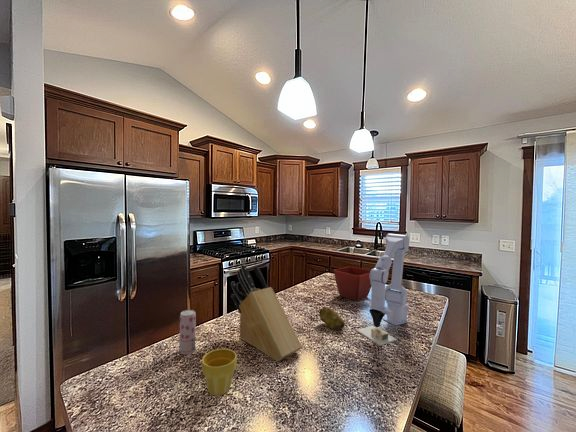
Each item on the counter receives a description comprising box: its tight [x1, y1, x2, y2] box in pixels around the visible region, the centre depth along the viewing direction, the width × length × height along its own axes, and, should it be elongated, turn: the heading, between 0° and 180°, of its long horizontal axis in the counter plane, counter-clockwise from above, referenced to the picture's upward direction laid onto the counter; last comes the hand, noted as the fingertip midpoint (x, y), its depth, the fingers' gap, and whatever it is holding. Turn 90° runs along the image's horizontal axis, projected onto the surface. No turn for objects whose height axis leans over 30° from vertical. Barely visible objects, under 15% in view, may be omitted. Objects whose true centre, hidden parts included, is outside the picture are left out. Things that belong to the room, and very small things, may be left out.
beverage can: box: [179, 309, 197, 356], centre depth 100 cm, size 6×6×15 cm
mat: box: [356, 325, 398, 346], centre depth 116 cm, size 10×14×1 cm
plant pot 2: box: [333, 266, 372, 302], centre depth 166 cm, size 19×19×17 cm
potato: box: [318, 306, 345, 331], centre depth 124 cm, size 8×13×8 cm, turn 27°
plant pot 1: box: [201, 348, 238, 397], centre depth 80 cm, size 10×10×10 cm
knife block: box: [230, 264, 303, 362], centre depth 108 cm, size 11×35×31 cm, turn 45°
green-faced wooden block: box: [371, 327, 390, 341], centre depth 113 cm, size 4×2×6 cm
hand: (376, 326), depth 115 cm, fingers closed
